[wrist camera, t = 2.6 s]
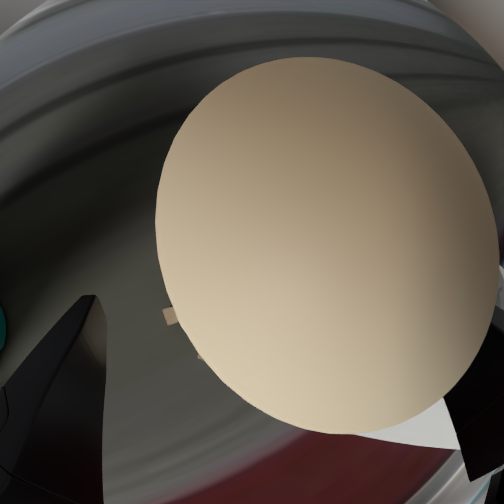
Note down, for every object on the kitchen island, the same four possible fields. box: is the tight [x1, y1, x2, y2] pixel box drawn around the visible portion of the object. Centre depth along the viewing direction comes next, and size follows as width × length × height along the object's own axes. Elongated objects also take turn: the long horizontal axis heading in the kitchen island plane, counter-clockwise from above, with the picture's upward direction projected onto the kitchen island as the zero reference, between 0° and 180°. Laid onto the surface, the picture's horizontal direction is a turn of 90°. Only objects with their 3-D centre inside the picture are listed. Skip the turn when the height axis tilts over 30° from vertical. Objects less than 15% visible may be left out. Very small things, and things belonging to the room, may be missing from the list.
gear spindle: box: [155, 57, 499, 434], centre depth 9 cm, size 8×8×14 cm
